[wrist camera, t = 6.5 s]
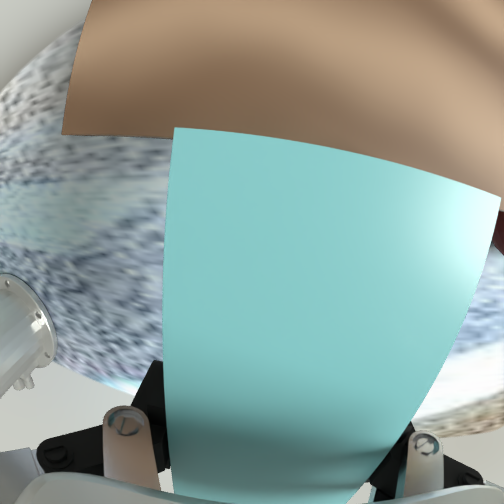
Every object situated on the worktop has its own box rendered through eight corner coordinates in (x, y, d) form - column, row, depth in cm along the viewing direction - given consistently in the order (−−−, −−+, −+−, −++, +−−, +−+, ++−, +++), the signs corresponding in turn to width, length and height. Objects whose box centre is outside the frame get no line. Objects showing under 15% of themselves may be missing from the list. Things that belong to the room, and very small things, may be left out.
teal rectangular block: (221, 139, 9) (174, 127, 4) (403, 173, 9) (501, 197, 4) (195, 459, 14) (180, 531, 9) (301, 469, 14) (305, 542, 9)
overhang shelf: (400, 183, 23) (524, 219, 9) (170, 144, 23) (61, 134, 9) (415, 36, 19) (515, -27, 5) (200, -5, 19) (149, -113, 5)
